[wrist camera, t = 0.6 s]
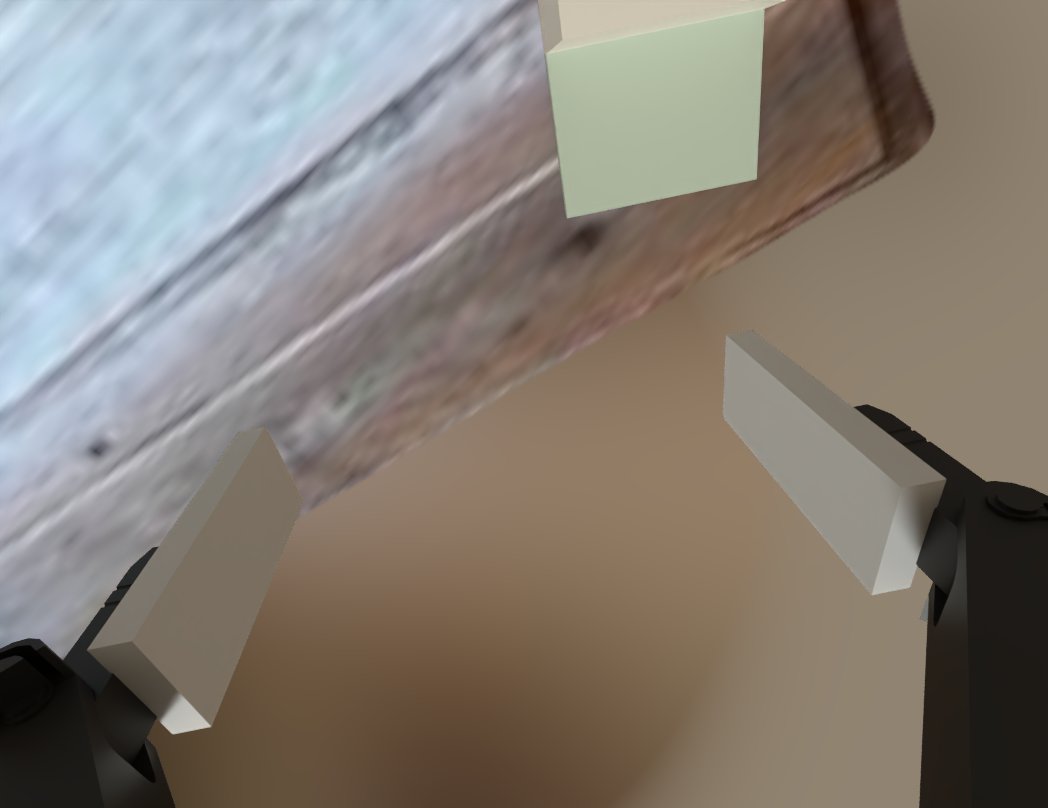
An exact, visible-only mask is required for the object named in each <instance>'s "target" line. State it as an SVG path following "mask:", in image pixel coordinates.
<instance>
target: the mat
mask: <svg viewBox="0 0 1048 808" xmlns="http://www.w3.org/2000/svg"><path fill="white" fill-rule="evenodd" d="M763 30H764V9H761V10H756V11H751V12H746V13H741V14H737V15H732V16H727V17H722V18H717V19H712V20H708V21H703V22H698V23H693V24H688V25H684V26H679V27H674V28H669V29H664V30H659V31H655V32H650V33H645V34H640V35H635V36H631V37H626V38H621V39H616V40H611V41H607V42H602V43H597V44H592V45H587V46H582V47H578V48H573V49H568V50H563V51H558V52H554V53H549V54H545V61H546V69H547V76H548V84H549V92H550V99H551V107H552V115H553V122H554V130H555V137H556V145H557V153H558V160H559V168H560V176H561V183H562V191H563V198H564V206H565V214H566V217H567V218H571V217H576V216H581V215H585V214H590V213H595V212H600V211H605V210H610V209H615V208H619V207H624V206H629V205H634V204H639V203H644V202H648V201H653V200H658V199H663V198H668V197H673V196H678V195H682V194H687V193H692V192H697V191H702V190H707V189H711V188H716V187H721V186H726V185H731V184H736V183H740V182H745V181H750V180H755V179H757V159H758V137H759V116H760V94H761V73H762V51H763Z"/></svg>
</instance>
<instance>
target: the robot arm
mask: <svg viewBox="0 0 1048 808" xmlns="http://www.w3.org/2000/svg"><path fill="white" fill-rule="evenodd" d="M723 418H724V419H725V420H726V421H727V423H728V424H729V425H730V426H731V427H732V429H733V430H734V431H735V432H736V433H737V435H738V436H739V437H740V438H741V439H742V440H743V442H744V443H745V444H746V445H747V447H748V448H749V449H750V450H751V451H752V452H753V454H754V455H755V456H756V457H757V459H758V460H759V461H760V462H761V463H762V464H763V466H764V467H765V468H766V469H767V470H768V472H769V473H770V474H771V475H772V476H773V478H774V479H775V480H776V481H777V482H778V484H779V485H780V486H781V487H782V488H783V490H784V491H785V492H786V493H787V494H788V496H789V497H790V498H791V499H792V500H793V502H794V503H795V504H796V505H797V506H798V508H799V509H800V510H801V511H802V512H803V514H804V515H805V516H806V517H807V518H808V519H809V520H810V522H811V523H812V524H813V526H814V527H815V528H816V529H817V530H818V532H819V533H820V534H821V535H822V536H823V538H824V539H825V540H826V541H827V542H828V543H829V545H830V546H831V547H832V548H833V550H834V551H835V552H836V553H837V554H838V556H839V557H840V558H841V559H842V560H843V561H844V563H845V564H846V565H847V566H848V568H849V569H850V570H851V571H852V572H853V574H854V575H855V576H856V577H857V578H858V579H859V581H860V582H861V583H862V584H863V585H864V587H865V588H866V589H867V590H868V591H869V593H870V594H871V595H875V594H880V593H884V592H890V591H895V590H900V589H905V588H910V586H911V583H912V580H913V577H914V574H915V571H916V568H917V566H918V567H919V568H921V570H922V571H923V572H924V573H925V574H926V575H927V576H928V577H929V578H930V579H931V580H932V581H933V584H932V586H931V589H930V592H929V594H928V597H927V600H926V603H925V605H924V608H923V611H922V613H921V616H920V619H921V620H924V621H927V619H928V625H927V647H926V668H925V691H924V715H923V735H922V757H921V758H922V759H921V780H920V802H919V808H1048V496H1047V495H1045V494H1043V493H1040V492H1038V491H1036V490H1034V489H1032V488H1028V487H1025V486H1021V485H1018V484H1014V483H1008V482H998V481H990V482H986V481H984V480H983V479H982V478H980V477H979V476H977V475H976V474H975V473H973V472H972V471H970V470H969V469H968V468H966V467H965V466H964V465H962V464H961V463H959V462H958V461H957V460H955V459H954V458H952V457H951V456H950V455H948V454H947V453H945V452H944V451H943V450H941V449H940V448H938V447H937V446H936V445H934V444H933V443H931V442H927V441H926V438H925V437H923V436H922V435H920V434H919V433H917V432H916V431H912V430H911V427H909V426H908V425H906V424H905V423H904V422H902V421H901V420H899V419H898V418H896V417H895V416H894V415H892V414H890V413H888V412H885V411H883V410H880V409H877V408H875V407H873V406H870V405H862V406H856V407H852V406H851V405H850V404H849V403H847V402H846V401H845V400H843V399H842V398H841V397H839V396H838V395H837V394H836V393H834V392H833V391H832V390H830V389H829V388H828V387H826V386H825V385H824V384H823V383H821V382H820V381H818V380H817V379H816V378H815V377H814V376H812V375H811V374H810V373H808V372H807V371H806V370H804V369H803V368H802V367H801V366H799V365H798V364H796V363H795V362H794V361H793V360H791V359H790V358H789V357H787V356H786V355H785V354H784V353H782V352H781V351H780V350H778V349H777V348H776V347H775V346H773V345H772V344H770V343H769V342H768V341H767V340H765V339H764V338H763V337H762V336H760V335H759V334H758V333H756V332H755V331H754V330H750V331H745V332H740V333H735V334H731V335H726V352H725V378H724V402H723ZM303 501H304V500H303V498H302V496H301V494H300V492H299V490H298V488H297V486H296V484H295V482H294V480H293V478H292V476H291V475H290V473H289V471H288V469H287V467H286V465H285V463H284V461H283V459H282V457H281V455H280V453H279V451H278V450H277V448H276V446H275V444H274V442H273V440H272V438H271V436H270V434H269V432H268V430H267V428H266V427H261V428H256V429H251V430H246V431H241V432H238V434H237V435H236V436H235V438H234V439H233V441H232V442H231V444H230V445H229V447H228V448H227V449H226V451H225V452H224V454H223V455H222V457H221V458H220V459H219V461H218V462H217V464H216V465H215V467H214V468H213V469H212V471H211V472H210V474H209V475H208V477H207V478H206V480H205V481H204V482H203V484H202V485H201V487H200V488H199V490H198V491H197V492H196V494H195V495H194V497H193V498H192V500H191V501H190V503H189V504H188V505H187V507H186V508H185V510H184V511H183V513H182V514H181V515H180V517H179V518H178V520H177V521H176V523H175V524H174V526H173V527H172V528H171V530H170V531H169V533H168V534H167V536H166V537H165V538H164V540H163V541H162V543H161V544H160V546H159V547H154V548H152V549H150V550H149V551H148V552H147V553H146V554H145V555H144V556H143V557H141V558H140V559H139V560H138V561H137V562H136V563H135V564H134V565H133V566H131V568H130V569H129V570H128V572H127V573H126V574H125V576H124V577H123V579H122V580H121V581H120V583H119V584H118V585H117V590H116V591H113V592H112V594H111V595H110V596H109V598H108V599H107V601H106V602H105V603H104V604H105V607H103V608H101V609H100V610H99V612H98V613H97V614H96V616H95V617H94V619H93V620H92V621H91V623H90V624H89V625H88V627H87V628H86V630H85V631H84V632H83V634H82V635H81V636H80V638H79V639H78V641H77V642H76V643H75V645H74V646H73V647H72V649H71V650H70V652H69V653H68V654H67V656H66V657H65V658H64V660H62V659H61V658H60V657H59V656H57V655H56V654H55V653H54V652H53V651H52V650H51V649H50V648H49V647H48V646H47V645H46V644H44V643H43V642H42V641H41V640H40V639H31V638H28V639H24V640H21V641H17V642H14V643H11V644H9V645H7V646H5V647H3V648H1V649H0V808H176V807H175V804H174V801H173V798H172V795H171V792H170V789H169V786H168V783H167V780H166V777H165V775H164V771H163V768H162V765H161V762H160V759H159V756H158V753H157V750H156V748H155V746H153V744H152V743H151V742H150V741H149V740H148V739H147V735H148V734H149V732H150V730H151V728H152V726H153V724H154V722H155V720H156V718H157V719H158V720H159V721H160V722H161V723H162V724H163V725H164V726H165V727H166V728H167V729H168V730H169V731H170V732H171V733H172V734H177V733H182V732H186V731H192V730H197V729H202V728H207V727H211V726H212V724H213V721H214V718H215V716H216V714H217V711H218V709H219V707H220V704H221V702H222V699H223V697H224V694H225V692H226V689H227V687H228V684H229V682H230V680H231V677H232V675H233V672H234V670H235V667H236V665H237V663H238V660H239V658H240V655H241V653H242V650H243V648H244V645H245V643H246V641H247V638H248V636H249V633H250V631H251V628H252V626H253V623H254V621H255V619H256V616H257V613H258V611H259V609H260V606H261V604H262V601H263V599H264V596H265V594H266V592H267V589H268V587H269V584H270V582H271V579H272V577H273V575H274V572H275V570H276V567H277V565H278V562H279V560H280V557H281V555H282V553H283V550H284V547H285V545H286V543H287V540H288V538H289V535H290V533H291V530H292V528H293V526H294V523H295V521H296V518H297V516H298V513H299V511H300V509H301V506H302V504H303Z"/></svg>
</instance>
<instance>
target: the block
mask: <svg viewBox="0 0 1048 808" xmlns="http://www.w3.org/2000/svg"><path fill="white" fill-rule="evenodd" d="M784 1H786V0H538V8H539V16H540V23H541V31H542V38H543V46H544V54H549V53H554V52H558V51H563V50H568V49H573V48H578V47H582V46H587V45H592V44H597V43H602V42H607V41H611V40H616V39H621V38H626V37H631V36H635V35H640V34H645V33H650V32H655V31H659V30H664V29H669V28H674V27H679V26H684V25H688V24H693V23H698V22H703V21H708V20H712V19H717V18H722V17H727V16H732V15H737V14H741V13H746V12H751V11H756V10H761V9H765V8H768V7H770V6H773V5H776V4H778V3H781V2H784Z"/></svg>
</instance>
